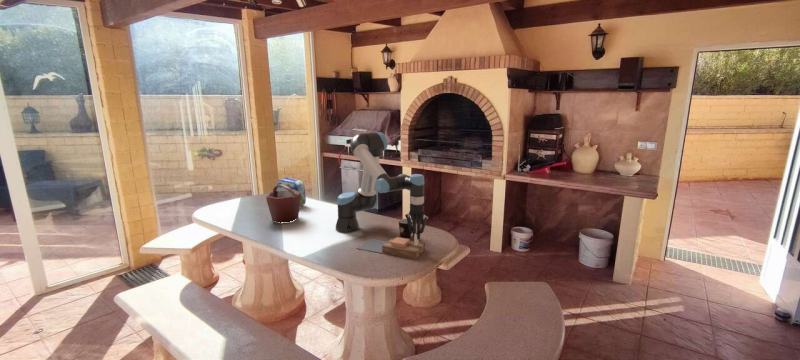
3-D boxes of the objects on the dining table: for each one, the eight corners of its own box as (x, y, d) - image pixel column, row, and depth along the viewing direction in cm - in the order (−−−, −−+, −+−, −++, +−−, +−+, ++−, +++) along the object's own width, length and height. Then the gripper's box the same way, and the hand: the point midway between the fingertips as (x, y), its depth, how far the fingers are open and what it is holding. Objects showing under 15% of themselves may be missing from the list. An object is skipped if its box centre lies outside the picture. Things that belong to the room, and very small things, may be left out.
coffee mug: (396, 235, 239) (396, 219, 236) (408, 233, 242) (409, 218, 240) (403, 241, 228) (403, 225, 226) (416, 239, 231) (417, 223, 229)
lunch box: (276, 203, 308) (274, 177, 303) (287, 200, 316) (285, 175, 311) (295, 209, 292) (294, 182, 287) (307, 206, 300) (306, 179, 295)
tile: (397, 240, 219) (397, 237, 219) (409, 242, 216) (409, 239, 216) (391, 245, 212) (391, 241, 212) (404, 247, 209) (404, 244, 209)
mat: (369, 239, 232) (369, 238, 232) (393, 243, 226) (393, 242, 225) (356, 248, 218) (356, 248, 218) (381, 253, 211) (381, 252, 211)
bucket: (306, 221, 263) (304, 186, 258) (273, 227, 251) (271, 190, 245) (294, 212, 283) (292, 179, 277) (263, 218, 271) (260, 183, 265)
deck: (392, 243, 225) (392, 237, 224) (424, 249, 217) (425, 243, 216) (382, 252, 212) (382, 246, 211) (415, 259, 204) (415, 252, 203)
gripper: (402, 203, 204) (402, 244, 210) (425, 206, 199) (425, 248, 204) (408, 200, 211) (408, 240, 216) (430, 202, 206) (429, 243, 211)
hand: (416, 244), depth 210 cm, fingers closed
